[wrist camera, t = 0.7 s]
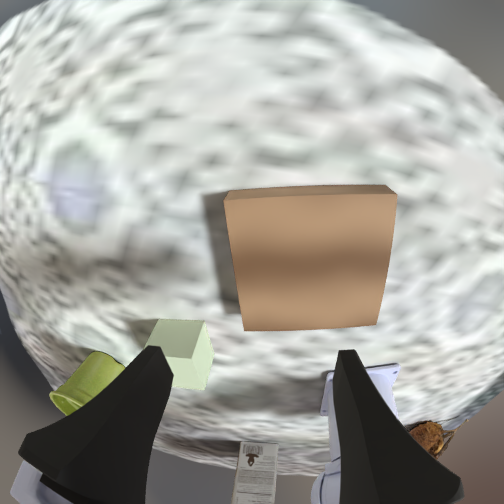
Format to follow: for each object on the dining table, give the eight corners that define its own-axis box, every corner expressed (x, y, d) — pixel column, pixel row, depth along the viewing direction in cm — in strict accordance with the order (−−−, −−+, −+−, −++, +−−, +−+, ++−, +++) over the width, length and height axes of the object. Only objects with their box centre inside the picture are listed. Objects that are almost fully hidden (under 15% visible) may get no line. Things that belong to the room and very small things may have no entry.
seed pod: (443, 436, 21) (369, 497, 24) (487, 446, 20) (426, 500, 23) (413, 388, 34) (358, 445, 37) (460, 408, 33) (411, 458, 35)
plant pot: (69, 334, 27) (35, 383, 19) (127, 348, 26) (94, 410, 18) (97, 379, 31) (74, 424, 24) (152, 393, 30) (131, 447, 23)
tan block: (368, 304, 20) (376, 324, 18) (247, 309, 22) (244, 331, 20) (383, 183, 16) (397, 194, 14) (231, 188, 17) (223, 200, 15)
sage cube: (214, 353, 24) (204, 390, 21) (172, 350, 25) (159, 384, 21) (204, 320, 22) (191, 358, 19) (159, 318, 23) (141, 353, 19)
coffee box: (274, 457, 39) (268, 530, 25) (240, 455, 40) (229, 527, 26) (279, 442, 35) (272, 530, 21) (239, 439, 35) (225, 526, 21)
